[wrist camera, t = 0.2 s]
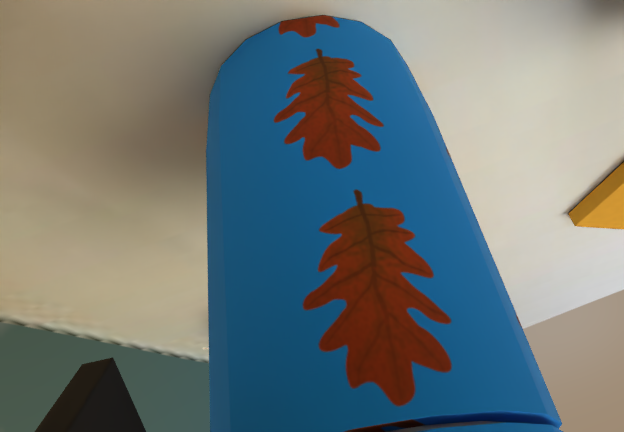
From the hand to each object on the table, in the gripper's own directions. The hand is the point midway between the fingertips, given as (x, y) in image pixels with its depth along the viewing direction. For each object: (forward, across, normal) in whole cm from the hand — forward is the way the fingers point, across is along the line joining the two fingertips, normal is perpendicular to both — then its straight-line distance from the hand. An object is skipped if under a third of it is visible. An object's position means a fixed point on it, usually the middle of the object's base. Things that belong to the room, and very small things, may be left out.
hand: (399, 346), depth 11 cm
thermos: (+17, -1, +4) cm, 17 cm away
